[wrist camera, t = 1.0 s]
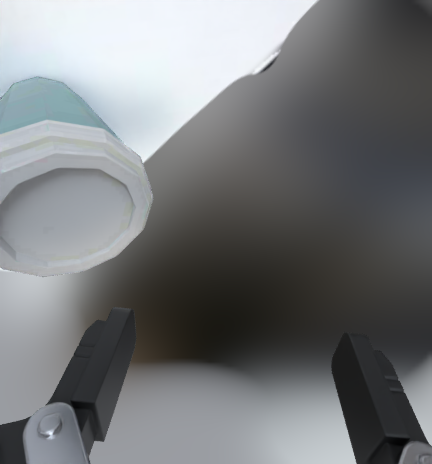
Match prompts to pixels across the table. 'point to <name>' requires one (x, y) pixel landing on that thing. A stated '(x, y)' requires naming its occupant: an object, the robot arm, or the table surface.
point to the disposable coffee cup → (64, 183)
